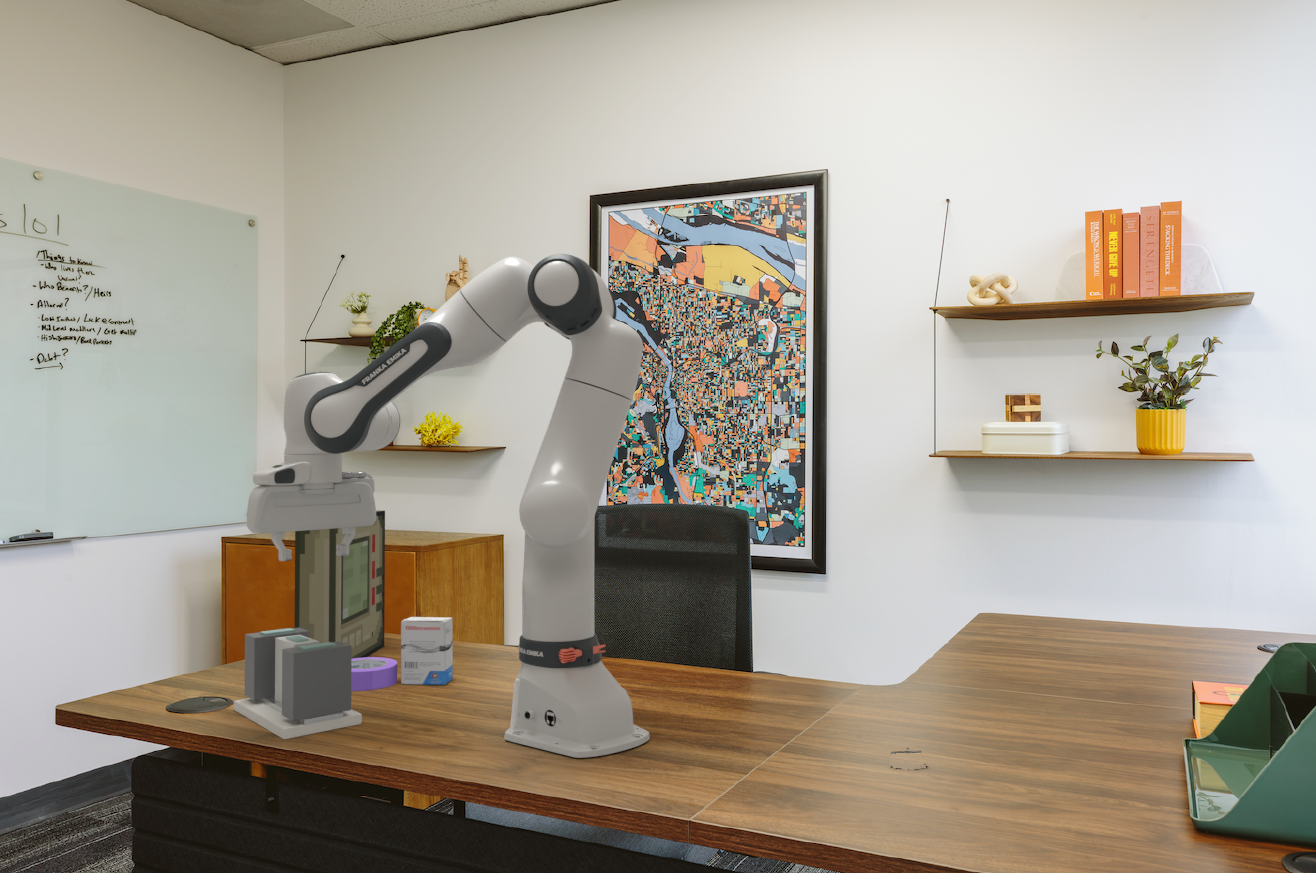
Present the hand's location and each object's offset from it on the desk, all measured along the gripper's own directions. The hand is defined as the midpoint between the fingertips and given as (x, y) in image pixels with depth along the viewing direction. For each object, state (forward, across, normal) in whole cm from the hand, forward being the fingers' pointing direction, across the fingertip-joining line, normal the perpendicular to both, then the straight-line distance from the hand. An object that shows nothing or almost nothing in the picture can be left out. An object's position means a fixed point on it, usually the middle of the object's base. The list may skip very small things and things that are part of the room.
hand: (314, 558), depth 151 cm
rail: (+24, +3, -1) cm, 24 cm away
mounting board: (+25, +3, -1) cm, 25 cm away
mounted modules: (+23, +3, -1) cm, 23 cm away
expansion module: (+23, +3, -1) cm, 23 cm away
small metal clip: (+28, -47, +80) cm, 97 cm away
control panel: (+25, -20, -36) cm, 49 cm away
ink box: (+26, -24, -8) cm, 36 cm away
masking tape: (+26, -15, -15) cm, 34 cm away
